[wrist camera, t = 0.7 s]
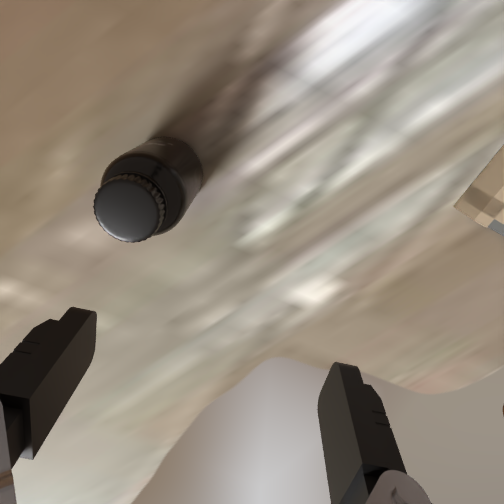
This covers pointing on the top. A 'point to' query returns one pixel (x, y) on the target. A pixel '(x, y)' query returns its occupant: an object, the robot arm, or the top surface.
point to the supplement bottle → (148, 189)
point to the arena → (486, 196)
